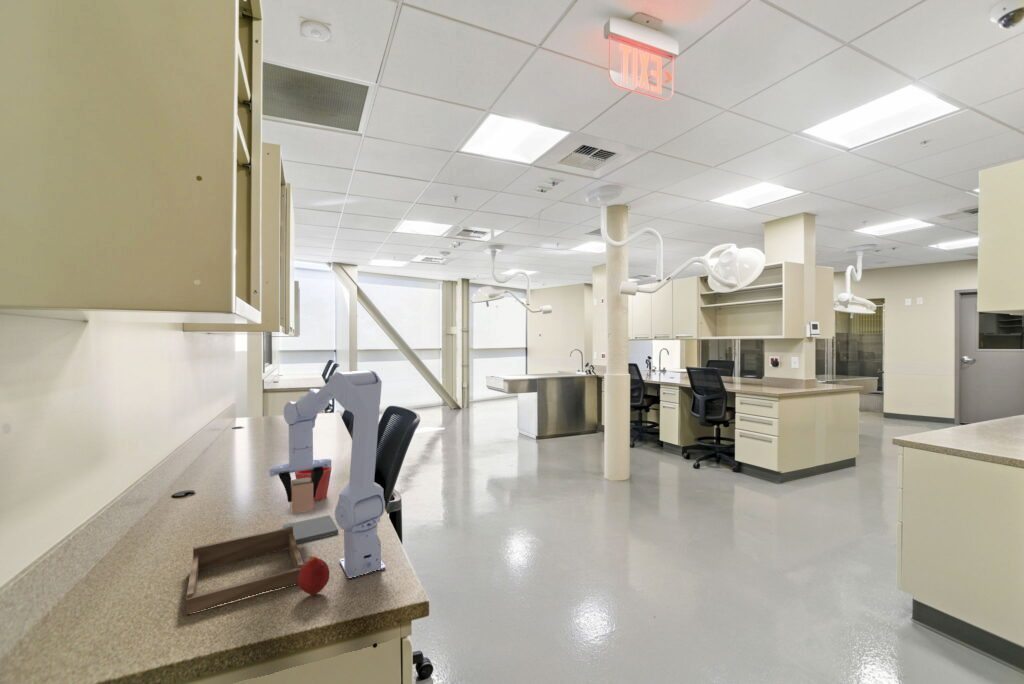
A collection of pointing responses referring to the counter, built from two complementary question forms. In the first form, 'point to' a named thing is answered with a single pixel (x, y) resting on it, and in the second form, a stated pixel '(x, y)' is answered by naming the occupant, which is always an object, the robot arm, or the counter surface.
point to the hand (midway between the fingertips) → (301, 498)
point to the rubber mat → (313, 528)
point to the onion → (313, 575)
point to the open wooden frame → (236, 552)
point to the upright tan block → (301, 495)
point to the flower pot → (322, 484)
